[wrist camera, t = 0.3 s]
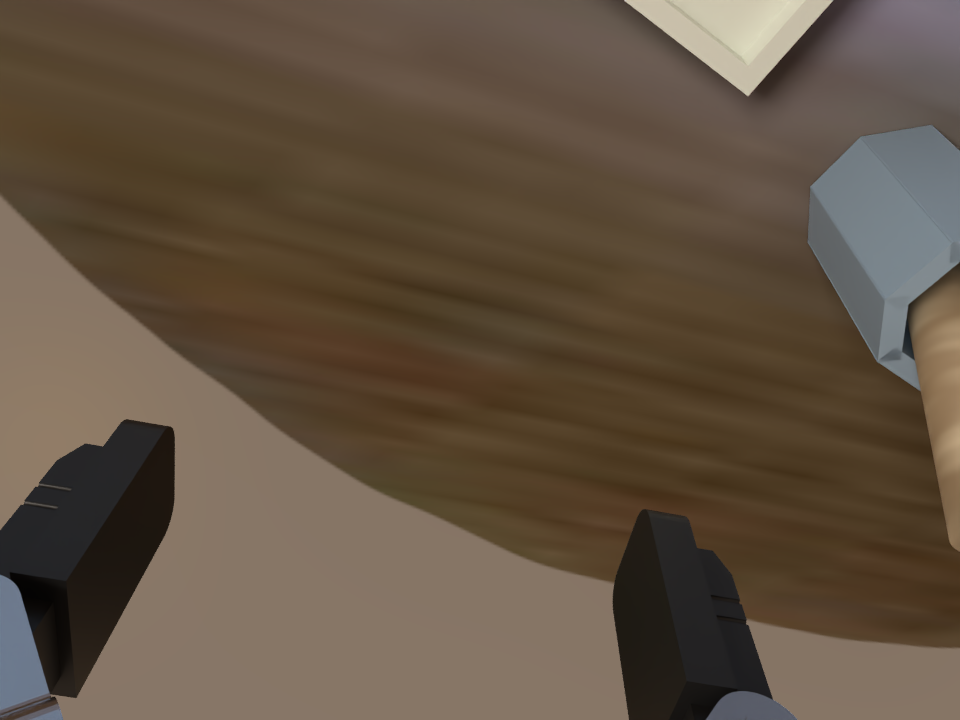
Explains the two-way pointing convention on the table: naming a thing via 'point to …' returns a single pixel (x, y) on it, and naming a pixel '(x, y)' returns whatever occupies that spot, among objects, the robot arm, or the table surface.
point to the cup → (888, 232)
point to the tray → (735, 32)
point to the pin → (941, 384)
